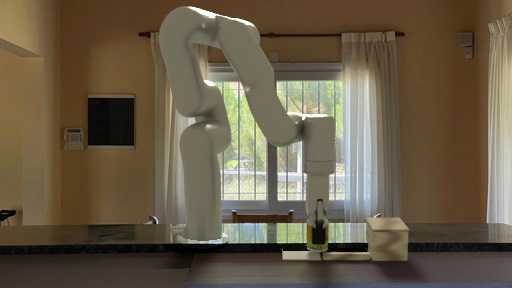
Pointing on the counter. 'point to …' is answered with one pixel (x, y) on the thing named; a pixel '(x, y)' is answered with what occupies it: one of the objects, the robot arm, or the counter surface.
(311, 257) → the mat
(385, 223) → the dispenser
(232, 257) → the counter surface
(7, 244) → the counter surface
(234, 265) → the counter surface
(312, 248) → the supplement bottle
